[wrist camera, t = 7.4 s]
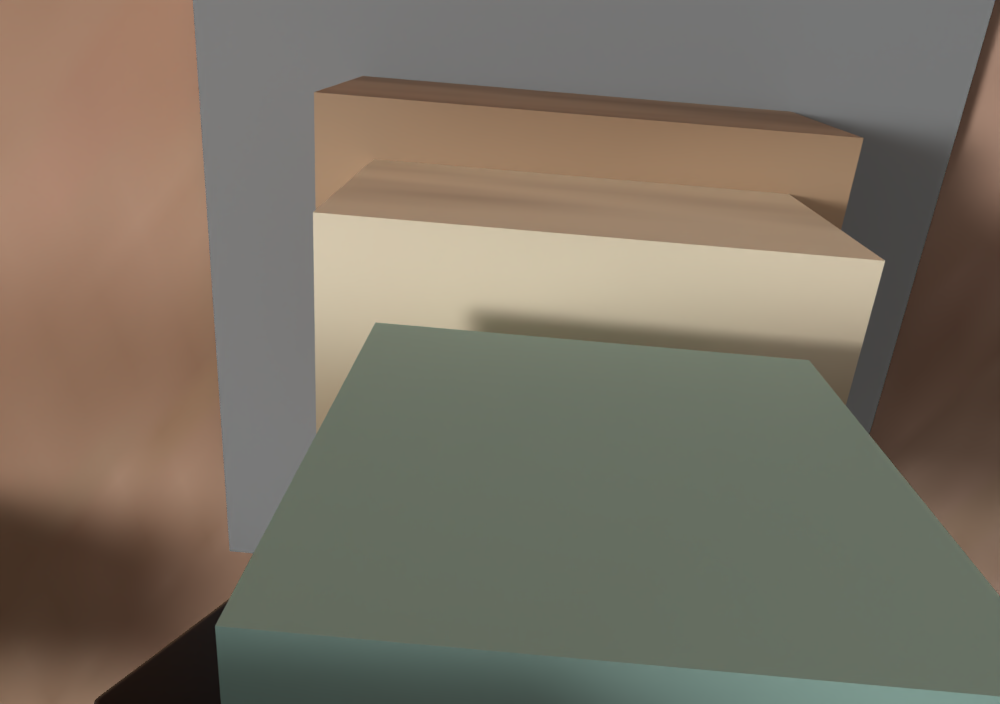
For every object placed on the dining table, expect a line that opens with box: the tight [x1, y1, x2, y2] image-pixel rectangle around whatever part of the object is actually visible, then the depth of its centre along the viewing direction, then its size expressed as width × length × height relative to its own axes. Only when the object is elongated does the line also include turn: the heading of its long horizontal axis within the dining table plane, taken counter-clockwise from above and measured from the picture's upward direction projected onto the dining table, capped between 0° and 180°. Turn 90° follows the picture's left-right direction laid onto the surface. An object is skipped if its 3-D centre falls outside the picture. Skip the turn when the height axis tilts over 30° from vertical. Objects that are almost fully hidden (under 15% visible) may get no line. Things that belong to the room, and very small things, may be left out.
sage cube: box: [215, 322, 1000, 704], centre depth 8 cm, size 5×5×5 cm
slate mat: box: [193, 0, 995, 553], centre depth 19 cm, size 16×16×1 cm
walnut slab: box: [314, 76, 864, 230], centre depth 17 cm, size 9×9×4 cm
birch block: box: [313, 159, 885, 434], centre depth 13 cm, size 7×7×4 cm
